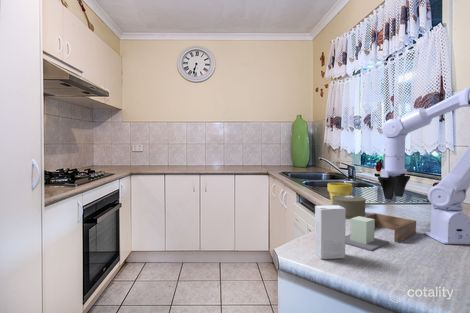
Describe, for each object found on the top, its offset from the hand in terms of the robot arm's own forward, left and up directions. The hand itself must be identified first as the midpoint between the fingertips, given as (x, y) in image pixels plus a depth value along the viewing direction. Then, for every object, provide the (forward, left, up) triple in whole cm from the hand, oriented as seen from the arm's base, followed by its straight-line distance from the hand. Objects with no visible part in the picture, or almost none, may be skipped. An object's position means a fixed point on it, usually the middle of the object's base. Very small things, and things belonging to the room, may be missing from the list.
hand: (393, 197), depth 96 cm
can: (+14, +10, -10) cm, 20 cm away
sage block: (-17, +16, -9) cm, 25 cm away
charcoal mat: (-17, +16, -9) cm, 25 cm away
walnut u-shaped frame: (-8, +7, -9) cm, 14 cm away
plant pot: (+32, +8, -10) cm, 34 cm away
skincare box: (-28, +28, -10) cm, 41 cm away
